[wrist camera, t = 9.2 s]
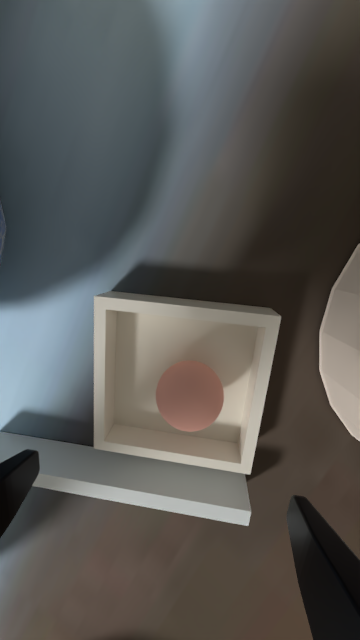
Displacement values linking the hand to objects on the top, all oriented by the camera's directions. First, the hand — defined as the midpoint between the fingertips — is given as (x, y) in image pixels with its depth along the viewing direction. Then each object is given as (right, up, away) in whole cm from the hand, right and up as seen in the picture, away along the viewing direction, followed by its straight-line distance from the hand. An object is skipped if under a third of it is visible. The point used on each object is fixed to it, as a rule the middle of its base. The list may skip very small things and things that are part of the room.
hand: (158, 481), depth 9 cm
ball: (+1, +1, +6) cm, 6 cm away
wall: (-4, -5, +11) cm, 13 cm away
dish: (+1, +2, +8) cm, 9 cm away
